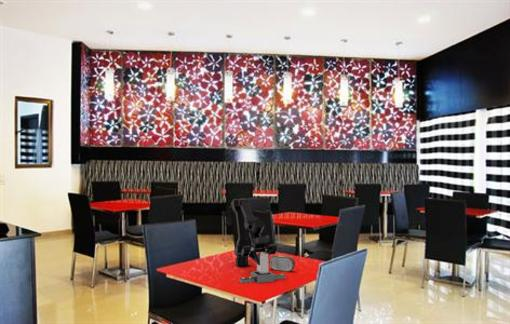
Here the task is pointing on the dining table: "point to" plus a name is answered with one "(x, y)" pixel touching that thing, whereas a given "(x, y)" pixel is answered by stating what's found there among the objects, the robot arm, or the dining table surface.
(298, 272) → the dining table surface
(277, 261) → the tin
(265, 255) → the grey upright column
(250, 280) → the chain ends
